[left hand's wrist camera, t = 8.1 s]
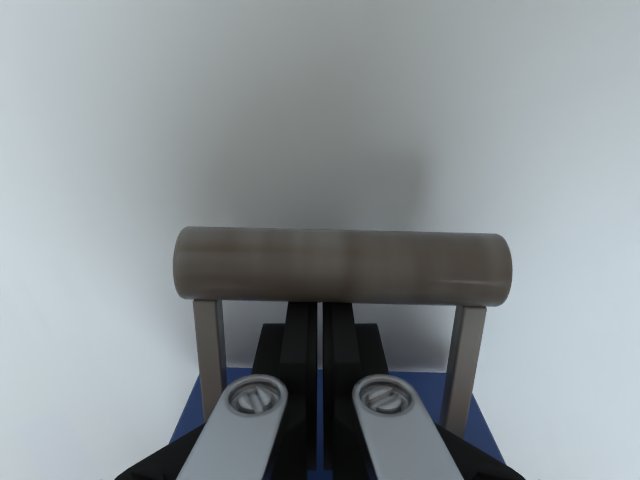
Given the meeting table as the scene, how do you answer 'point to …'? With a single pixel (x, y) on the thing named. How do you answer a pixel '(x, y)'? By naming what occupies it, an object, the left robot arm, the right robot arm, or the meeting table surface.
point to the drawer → (346, 287)
